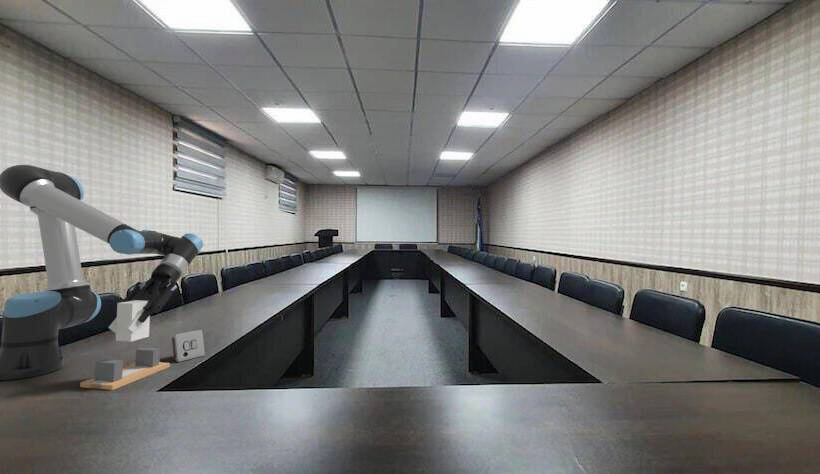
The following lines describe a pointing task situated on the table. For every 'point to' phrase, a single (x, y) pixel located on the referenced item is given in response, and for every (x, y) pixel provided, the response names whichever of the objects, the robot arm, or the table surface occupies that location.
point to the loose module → (124, 318)
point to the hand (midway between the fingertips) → (121, 330)
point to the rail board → (125, 370)
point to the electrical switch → (188, 345)
